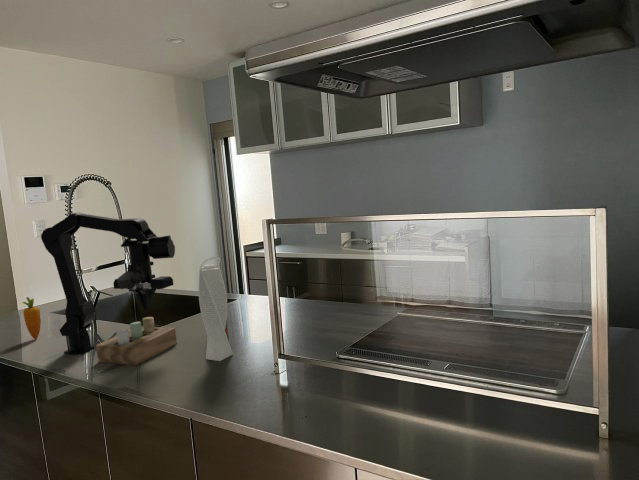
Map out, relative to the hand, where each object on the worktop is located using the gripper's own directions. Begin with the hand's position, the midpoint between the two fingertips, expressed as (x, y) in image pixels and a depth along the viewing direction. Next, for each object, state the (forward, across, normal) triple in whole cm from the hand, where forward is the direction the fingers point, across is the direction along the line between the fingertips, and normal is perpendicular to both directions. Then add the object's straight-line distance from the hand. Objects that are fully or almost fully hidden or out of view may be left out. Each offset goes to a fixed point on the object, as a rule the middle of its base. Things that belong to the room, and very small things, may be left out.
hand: (146, 309), depth 156 cm
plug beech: (+9, 0, 0) cm, 9 cm away
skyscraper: (+12, +28, -4) cm, 31 cm away
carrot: (+12, -50, -1) cm, 51 cm away
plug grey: (+9, 0, -11) cm, 14 cm away
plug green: (+9, 0, -5) cm, 10 cm away
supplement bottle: (+12, +22, +5) cm, 25 cm away
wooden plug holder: (+12, 0, -5) cm, 13 cm away
